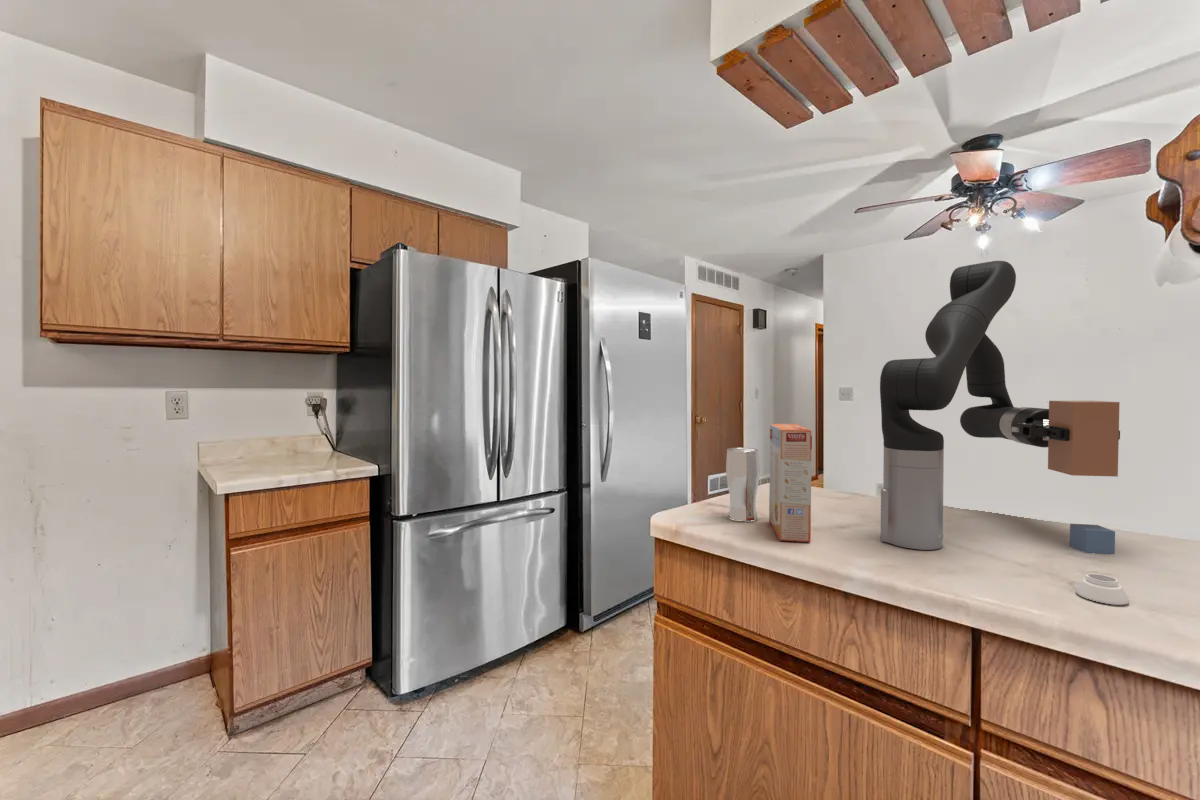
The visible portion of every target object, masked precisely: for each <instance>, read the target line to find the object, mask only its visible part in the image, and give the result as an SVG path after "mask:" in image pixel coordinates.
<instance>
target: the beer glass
mask: <svg viewBox="0 0 1200 800" xmlns="http://www.w3.org/2000/svg"><path fill="white" fill-rule="evenodd" d="M759 453H760V452H759V449H757V448H750V447H730V448H729V447H728V448H727V449H726V463H725V464H726V465H725V471H726V473H725V475H726V483H727V488H728V493H729V502H730V503H729V508H728V509H729V510H728V516H727V517H729V518H731V519H734V520H742V521H751V520H755V519H757V518H759V517H758V512H757V507H756V501H757V494H758V489H759V482H760V471H761V470H760V468H761V467H760V466H761V465H760V464H761V463H760V455H759ZM729 518H728V519H729ZM757 520H758V519H757Z"/></svg>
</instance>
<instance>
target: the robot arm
mask: <svg viewBox="0 0 1200 800" xmlns="http://www.w3.org/2000/svg"><path fill="white" fill-rule="evenodd" d="M1016 276H1017V275H1016V271H1015V268H1014V266H1013V265H1012V264H1011V263H1010V262H1008V261H1006V260H992V261H985V262H981V263H980V262H979V263H974V264H969V265H964V266H959V267H956V268H955V269H954V270H952V273H951V275H950V277H949V278H950V279H949V292H950V293H949V294H950V295H949V296H950V301H949V302H948V303H946V304H945V305H943V306H942V307H941V308H940V309H938V311H937V312H936V314H935V315H934V317H933V318H932V319H931V320H930V322H929V323H928V326H927V327H926V330H925V341H926V345H927V347H928V348H929V350H930V351H931V352H932V353H933V355H934V357H928V358H927V357H925V358H924V357H923V358H907V359H905V358H904V359H901V358H900V359H892V360H888V361H887V362H886V363H885V364H884V365H883V368H882V369H881V373H880V378H879V396H880V411H881V413H880V414H881V431H882V432H881V433H882V438H883V473H882V474H883V475H882V476H883V479H882V480H883V483H882V484H883V485H882V486H883V487H882V488H881V491H880V542H884V543H888V544H892V545H894V546H896V547H897V546H898V547H902V548H906V549H913V550H923V551H929V550H930V551H931V550H939V549H941V548H943V547H944V542H943V541H944V540H943V539H944V470H945V469H944V467H945V466H944V465H945V463H944V459H945V457H944V453H945V450H944V448H945V445H944V444H945V439H944V438H945V437H944V435H943V434H942V433H941V432H939V431H938V430H934V429H932V428H929V427H927V426H924V425H922V424H920V423H919V422H917V421H916V420H915V419H913V418H912V416H911V413H910V411H929V412H930V411H939V410H944V409H945V408H947V406H949V405H950V403H951V402H952V400H953V398H954V396H955V394H956V393H957V390H958V387H959V384H960V382H961V379H962V376H963V374H964V372H965V375H966V376H965V377H966V387H967V391H968V393H969V395H970V396H972V397H977V398H990V399H991V404H986V405H985V404H984V405H978V406H970V407H968V408H966V409H965V410H964V411H962V413H961V415H960V419H959V423H960V427H961V428H962V429H963V431H964V432H965V433H966V434H967V435H969V436H971V437H974V438H980V439H981V438H984V439H985V438H987V439H988V438H989V439H992V438H993V439H994V438H995V439H996V438H997V439H999V438H1000V439H1006V440H1009V441H1013V442H1016V443H1019V444H1022V445H1028V446H1034V447H1039V448H1048V440H1050V439H1055V440H1061V441H1069V434H1070V431H1069V429H1068V428H1063V427H1056V426H1052V425H1049V408H1043V407H1030V406H1026V407H1025V406H1023V407H1022V406H1021V407H1017V406H1015V407H1014V404H1013V403H1012V400H1011V397H1010V395H1009V391H1008V388H1007V383H1006V373H1005V372H1006V371H1005V370H1006V369H1005V361H1004V357H1003V355H1002V352H1001V351H1000V349H999V348H998V346H997V345H996V344H995V343H994V341H992V339H990V337H989V336H988V335H987V334H986V332H987V330H988V329H989V326H990V324H991V322H992V321H993V319H994V318H995V316H996V315H997V313H998V312H1000V311H1001V309H1002V308H1003V307H1004V306H1005V304H1007V302H1008V301H1009V299H1011V297H1012V295H1013V292H1014V290H1015V287H1016V282H1017V281H1016V280H1017V277H1016ZM1119 440H1121V430H1119Z"/></svg>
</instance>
